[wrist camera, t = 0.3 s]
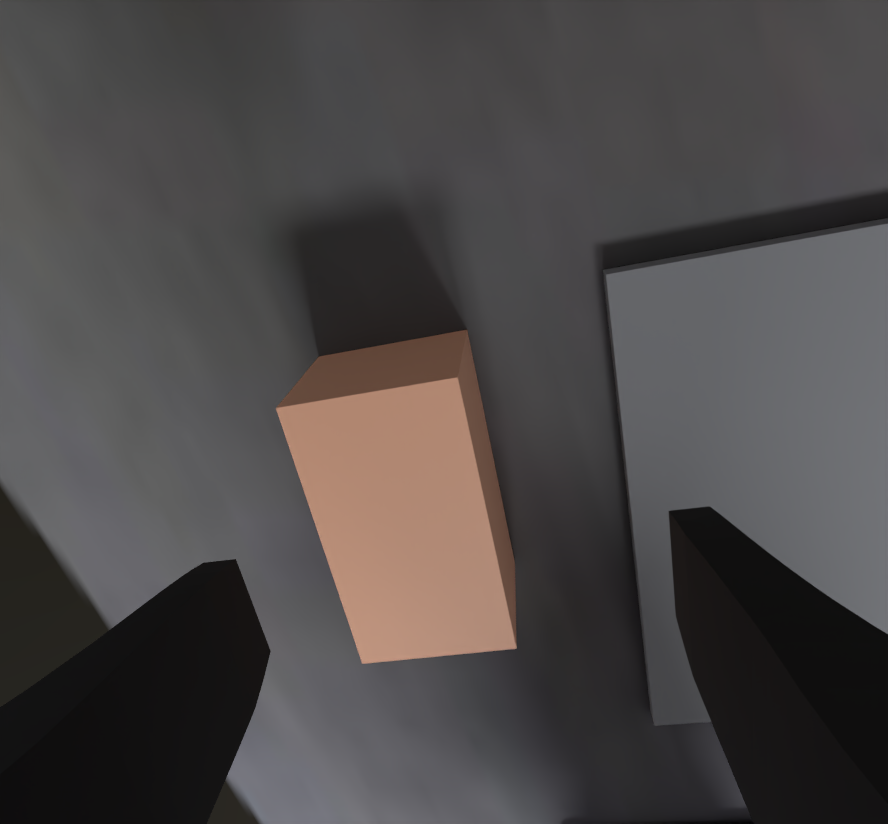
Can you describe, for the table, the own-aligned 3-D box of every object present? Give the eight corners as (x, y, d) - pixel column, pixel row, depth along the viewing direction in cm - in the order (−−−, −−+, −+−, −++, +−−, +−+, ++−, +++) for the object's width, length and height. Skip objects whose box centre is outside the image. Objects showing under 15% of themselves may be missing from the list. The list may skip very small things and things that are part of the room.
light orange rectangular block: (514, 559, 21) (516, 648, 18) (386, 574, 22) (362, 664, 18) (467, 328, 18) (457, 377, 14) (320, 354, 19) (275, 408, 15)
